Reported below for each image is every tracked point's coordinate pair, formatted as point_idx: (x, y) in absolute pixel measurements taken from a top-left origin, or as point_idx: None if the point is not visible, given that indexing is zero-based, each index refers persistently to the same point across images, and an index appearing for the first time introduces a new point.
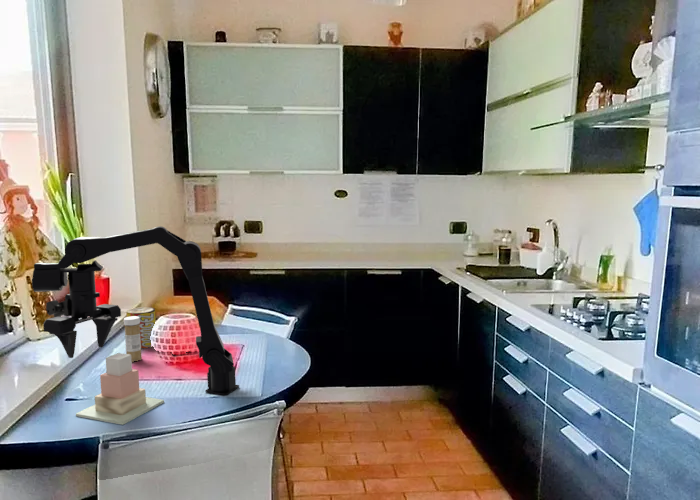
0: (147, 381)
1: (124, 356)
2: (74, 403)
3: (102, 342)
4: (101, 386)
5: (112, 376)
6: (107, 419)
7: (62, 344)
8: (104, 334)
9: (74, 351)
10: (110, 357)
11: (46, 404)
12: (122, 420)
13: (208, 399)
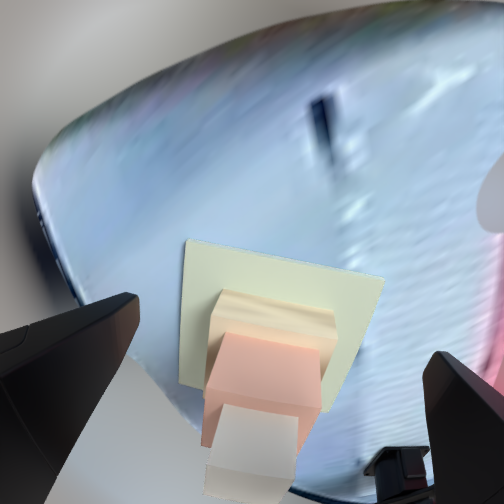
0: (489, 296)
1: (247, 500)
2: (287, 158)
3: (425, 412)
4: (217, 356)
5: (206, 426)
6: (179, 348)
7: (21, 330)
8: (438, 476)
9: (117, 369)
10: (218, 475)
11: (257, 60)
12: (187, 379)
13: (346, 459)
